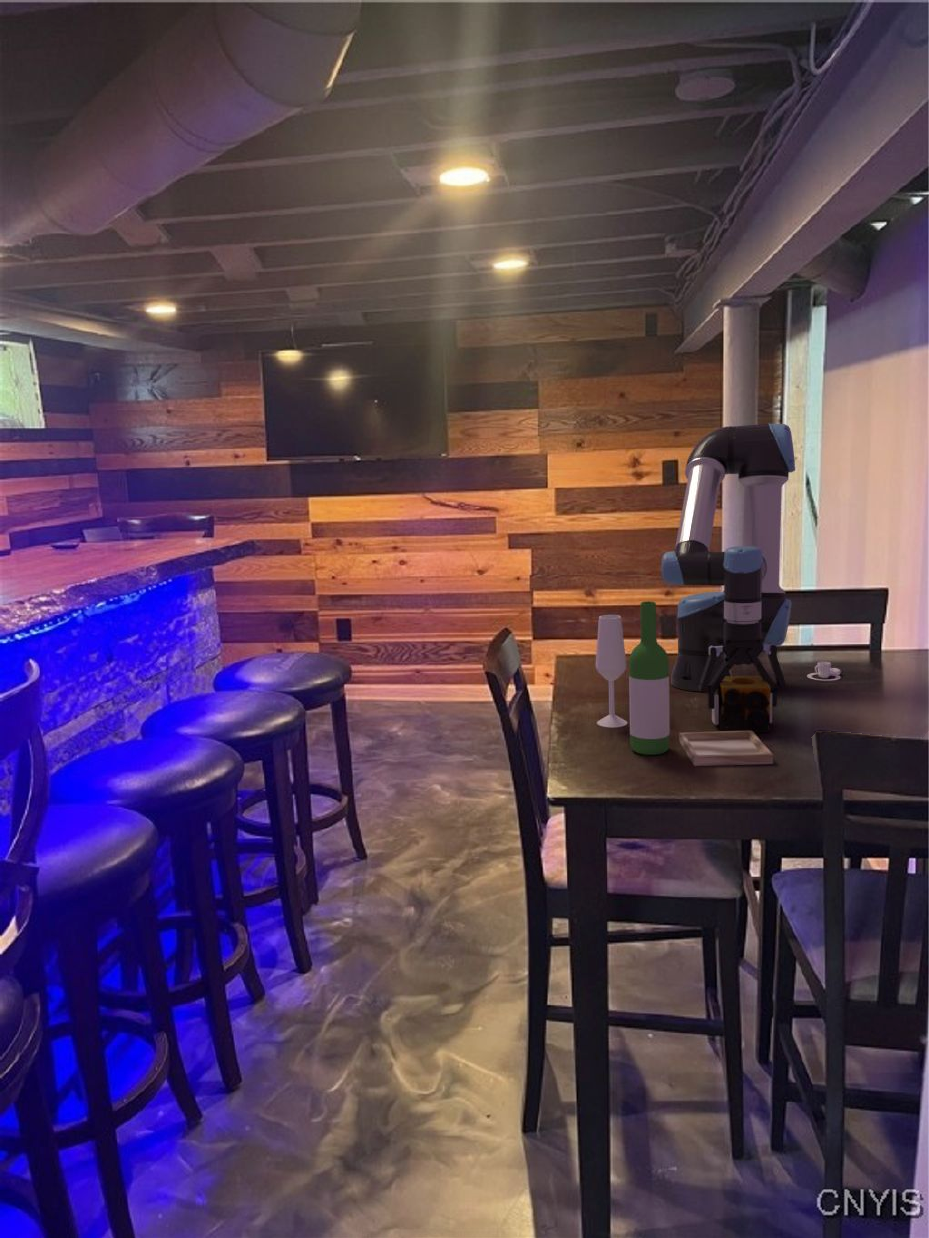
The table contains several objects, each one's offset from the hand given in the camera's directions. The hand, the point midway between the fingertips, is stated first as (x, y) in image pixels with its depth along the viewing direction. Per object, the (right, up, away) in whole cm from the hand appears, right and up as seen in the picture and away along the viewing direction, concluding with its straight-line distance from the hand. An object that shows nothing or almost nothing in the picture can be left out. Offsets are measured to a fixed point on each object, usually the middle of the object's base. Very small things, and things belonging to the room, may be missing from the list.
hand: (741, 721), depth 182 cm
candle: (0, -1, 0) cm, 1 cm away
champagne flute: (-27, -1, +7) cm, 27 cm away
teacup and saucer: (+35, +6, +34) cm, 50 cm away
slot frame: (-8, -4, -15) cm, 18 cm away
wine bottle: (-22, -4, -12) cm, 26 cm away
